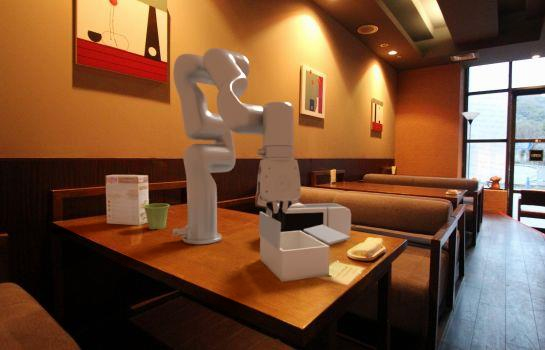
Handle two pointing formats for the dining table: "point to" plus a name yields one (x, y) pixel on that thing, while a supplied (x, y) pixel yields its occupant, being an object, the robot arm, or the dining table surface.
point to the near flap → (270, 229)
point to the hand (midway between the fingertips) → (278, 227)
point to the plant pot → (156, 215)
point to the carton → (295, 256)
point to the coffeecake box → (126, 199)
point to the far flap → (327, 234)
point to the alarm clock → (316, 217)
